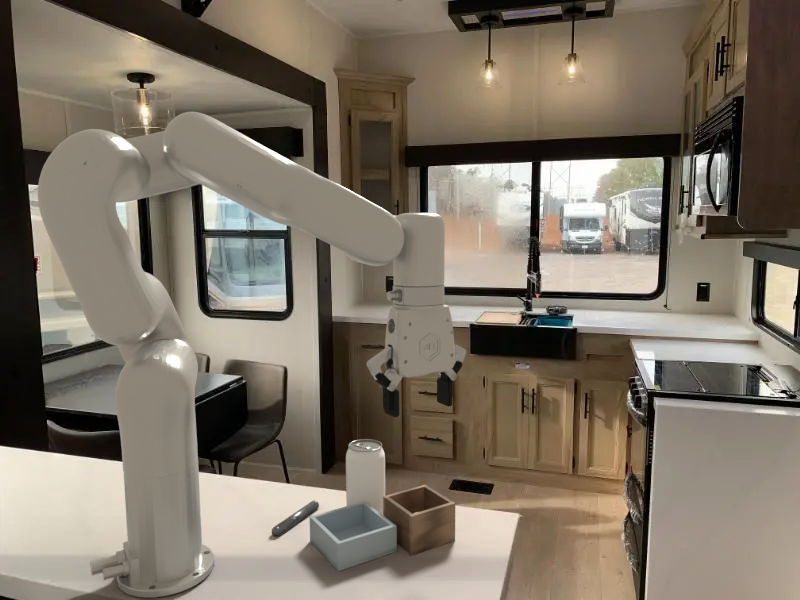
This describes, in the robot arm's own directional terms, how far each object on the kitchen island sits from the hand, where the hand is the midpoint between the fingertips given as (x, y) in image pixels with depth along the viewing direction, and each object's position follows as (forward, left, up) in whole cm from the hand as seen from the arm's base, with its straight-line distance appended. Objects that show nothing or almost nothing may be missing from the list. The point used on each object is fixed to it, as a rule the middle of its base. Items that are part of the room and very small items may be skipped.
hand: (418, 409), depth 92 cm
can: (-3, +11, -20) cm, 23 cm away
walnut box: (0, 0, -20) cm, 20 cm away
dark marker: (-14, +15, -20) cm, 29 cm away
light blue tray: (-10, +3, -20) cm, 23 cm away
